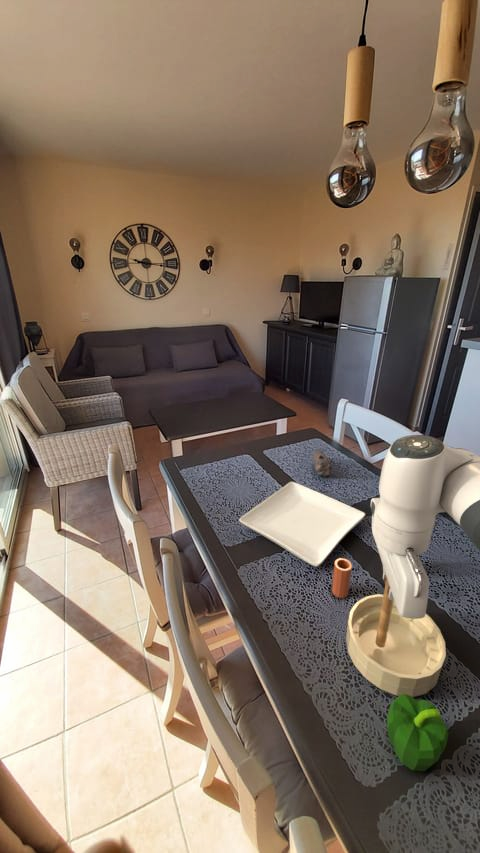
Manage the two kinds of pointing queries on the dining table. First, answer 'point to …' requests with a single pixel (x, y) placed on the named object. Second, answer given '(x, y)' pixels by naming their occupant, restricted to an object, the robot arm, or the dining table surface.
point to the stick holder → (341, 577)
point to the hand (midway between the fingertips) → (390, 589)
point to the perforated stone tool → (321, 463)
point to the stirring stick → (384, 618)
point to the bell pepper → (416, 732)
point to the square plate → (303, 521)
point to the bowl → (395, 649)
